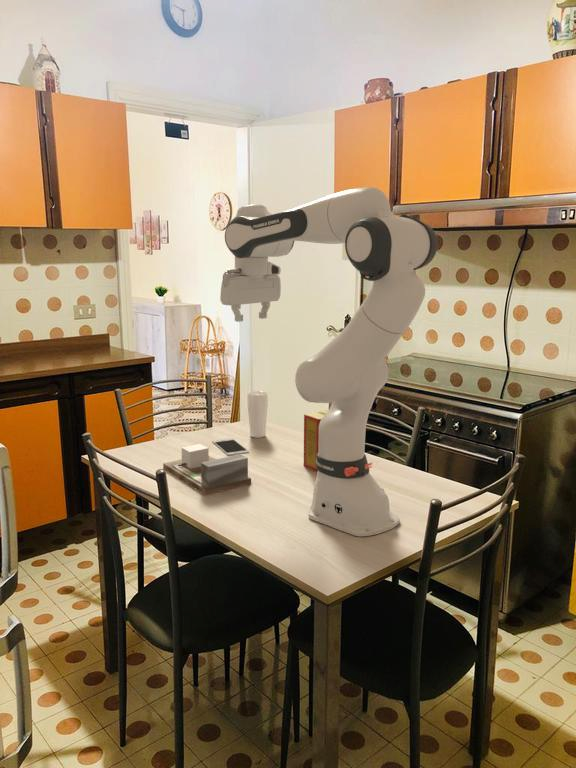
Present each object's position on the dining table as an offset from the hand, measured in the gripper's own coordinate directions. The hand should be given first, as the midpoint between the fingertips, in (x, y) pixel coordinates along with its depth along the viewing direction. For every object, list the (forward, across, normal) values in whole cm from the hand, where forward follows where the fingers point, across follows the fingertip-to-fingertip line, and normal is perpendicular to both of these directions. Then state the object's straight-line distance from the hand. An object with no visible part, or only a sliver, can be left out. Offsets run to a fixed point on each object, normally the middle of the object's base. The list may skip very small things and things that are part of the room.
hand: (251, 319), depth 171 cm
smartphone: (+44, +12, +20) cm, 50 cm away
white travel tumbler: (+44, +26, +22) cm, 56 cm away
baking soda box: (+44, +17, -13) cm, 49 cm away
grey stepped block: (+44, -11, +7) cm, 46 cm away
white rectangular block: (+42, -11, +13) cm, 45 cm away
